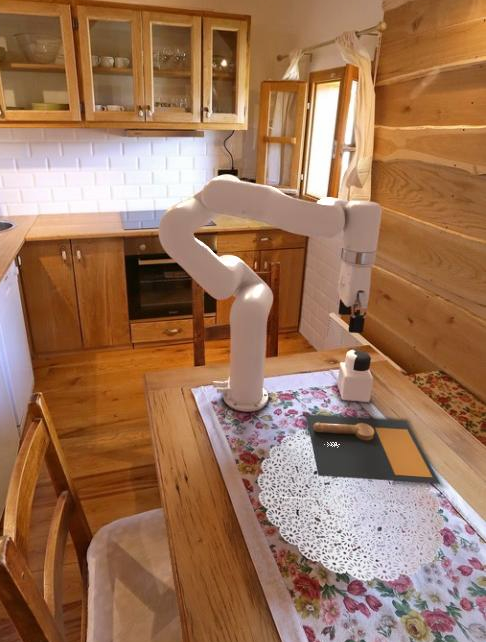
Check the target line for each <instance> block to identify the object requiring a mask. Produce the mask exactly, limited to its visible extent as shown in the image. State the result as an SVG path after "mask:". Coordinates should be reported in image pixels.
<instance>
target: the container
mask: <svg viewBox="0 0 486 642" xmlns="http://www.w3.org/2000/svg"><path fill="white" fill-rule="evenodd" d="M371 360H372V357H371V356H370V354H369V353H367V352H366V351H363V350H361V349H351V350H349V351H347V352H346V355H345V361H344V362H340V363H339V369H338V375H337V376H338V377H337V382H336V383H337V387H338V391H339V394H340V395H339V396H340V398H341V400H342V401H352V402H354V401H355V402H364V403H365V402H366V403H367V402H368V403H369V402H370V401H371V397H372V396H371V395H372V391H373V386H374V377H373V375H372V373H371V370H370V367H371V362H372V361H371Z"/></svg>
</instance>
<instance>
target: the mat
mask: <svg viewBox="0 0 486 642" xmlns="http://www.w3.org/2000/svg"><path fill="white" fill-rule="evenodd" d="M305 419H306V423H307V427H308V432H309V437H310V443H311V446H312V452H313V456H314V460H315V466H316V471H317V475H318V476H319V477H320V476H321V477H335V478H350V479H366V480H378V481H379V480H380V481H395V482H408V483H409V482H411V483H424V484H436V485H437V484H438V485H439V484H441V482H440V480H439V479H438V477H437V475H436V473H435V471H434V469H433V468H432V466H431V464H430V462H429V460H428V459H427V456H426V455H425V453H424V451H423V449H422V447H421V445H420V444H419V442H418V440H417V439H416V436H415V434H414V433H413V431H412V429H411V427H410V425H409V424H408V421H407V420H402V419H384V418H365V417H352V416H351V417H349V416H336V415H335V416H333V415H320V414H319V415H317V414H316V415H315V414H305ZM315 423H329V424H346V425H356V424H358V423H364V424H367V425H369V426H371V427H372V428H373V429H374V436H373V439H371V440H362V439H360V438H358V437H357V436H356V435H355V434H339V433H323V432H316V431H314V429H313V425H314V424H315ZM327 442H328V443H329V444H330V445H331V443H332V442H334V443H335V442H337V445H338V444H340V445H338V446H339V447H338V446H335V447H334V446H333V445H334V443H332V444H333V445H332V446H333V447H332V446H330V445H329V444H328V443H327ZM330 442H331V443H330ZM324 444H325V445H324ZM327 444H328V445H329V446H328V445H327ZM335 444H336V443H335ZM327 446H328V447H327ZM337 447H338V448H337Z"/></svg>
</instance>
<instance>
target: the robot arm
mask: <svg viewBox="0 0 486 642" xmlns="http://www.w3.org/2000/svg"><path fill="white" fill-rule="evenodd" d="M382 212H383V208H382V206H381V204H379V203H378V202H374V201H370V200H369V201H368V200H354V201H351V200H345V199H340V198H334V197H325V198H321V199H319V200H318V201H317V202H315V201H310V200H305V199H300V198H297V197H292V196H289V195H287V194H285V193H283V192H282V191H280V190H279V189H277V188H276V187H273V186H272V185H266V184H261V183H255V182H249V181H244V180H240V179H239V177H236V176H235V175H233V174H227V173H226V174H221V175H218V176H216V177H213V178H211V179H209V180H208V181H207V182H206V183H205V185H204V186H203V188H201V190H199V191H198V192H196V193H194V194H193V195H191V196H190V197H189V198H187V199H185V200H183V201H179V202H178V203H176V204H174V205H172V206H170V207H169V208H168V209H166V210H165V212H164V213H162V216H161V217H160V220H159V223H158V239H159V242H160V245H161V247H162V249H163V250H164V251H165V253H166V254H167V255H168V257H170V258H171V259H172V260H173V261H174V262H175V263H177V264H178V265H179V266H180V267H181V268H182V269H183V270H184V271H185V272H186V273H187V274H188V275H189V276H190V277H191V278H192V279H193V280H194V281H195V282H196V283H197V284H198V285H199V286H200V287H201V288H202V289H203V290H204V291H205V292H206V293H207V294H208V295H209V296H211V297H212V298H213V299H215V300H218V301H225V300H228V299H230V298H231V297H232V296H233V297H234V298H235V299H234V301H233V302H232V304H231V307H230V310H229V330H230V343H229V344H230V346H229V374H228V375H229V376H228V379H227V380H224V381H219V380H213V383H212V388H213V389H216V393H219V394H222V398H223V401H224V402H225V404H226V405H227V406H228V407H230V408H231V409H234V410H235V411H240V412H246V413H247V412H255V411H259V410H261V409H264V407H265V406H266V405H267V404H268V402H269V392H268V391H267V389H266V388H264V382H265V368H266V355H267V353H266V352H267V329H268V328H267V326H268V318H269V315H270V313H271V309H272V306H273V304H274V294H273V292H272V290H271V288H270V286H268V284H267V283H266V282H265V281H264V280H263V279H262V278H261V277H260V276H259V275H258V274H257V273H256V272H255V271H254V270H253V269H252V268H251V267H250V266H249V265H248V264H247V263H245V261H243V260H242V259H240V258H239V257H237V256H236V255H232V254H223V255H220V256H218V255H217V254H216V253H214V252H213V250H212V249H211V248H210V247H209V246H207V245H206V244H205V243H204V242H202V241H201V240H199V239H197V238H196V237H195V233H196V232H198V231H199V230H200V229H202V228H203V227H204V226H206V225H208V224H209V223H211V222H212V221H214V220H215V219H217V218H218V217H220V216H222V215H225V216H231V217H236V218H241V219H247V220H251V221H256V222H260V223H264V224H266V225H268V226H270V227H274V228H276V229H280V230H282V231H285V232H288V233H292V234H295V235H299V236H304V237H305V236H306V237H309V238H316V239H322V240H326V239H327V240H328V239H333V238H335V237H337V236H338V235H340V233H342V231H343V236H342V245H341V254H340V262H341V265H340V270H339V277H338V283H337V290H336V292H337V295H338V297H339V298H340V299H339V304H338V315H340V316H349V323H348V332H349V333H350V334H363V333H364V326H365V320H366V315H367V310H368V304H369V300H370V289H371V278H372V266H374V265H375V263H376V258H377V257H376V256H377V250H378V243H379V235H380V228H381V221H382V215H383V213H382ZM356 309H357V310H356Z"/></svg>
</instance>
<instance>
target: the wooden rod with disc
mask: <svg viewBox="0 0 486 642" xmlns="http://www.w3.org/2000/svg"><path fill="white" fill-rule="evenodd" d="M313 429H314V431H316V432H323V433H339V434H355V435H356V436H357V437H358V438H360V439H362V440H371V439H373V436H374V429H373V428H372V427H371V426H369V425H367V424H364V423H358V424H356V425H346V424H329V423H315V424H314V425H313Z"/></svg>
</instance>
